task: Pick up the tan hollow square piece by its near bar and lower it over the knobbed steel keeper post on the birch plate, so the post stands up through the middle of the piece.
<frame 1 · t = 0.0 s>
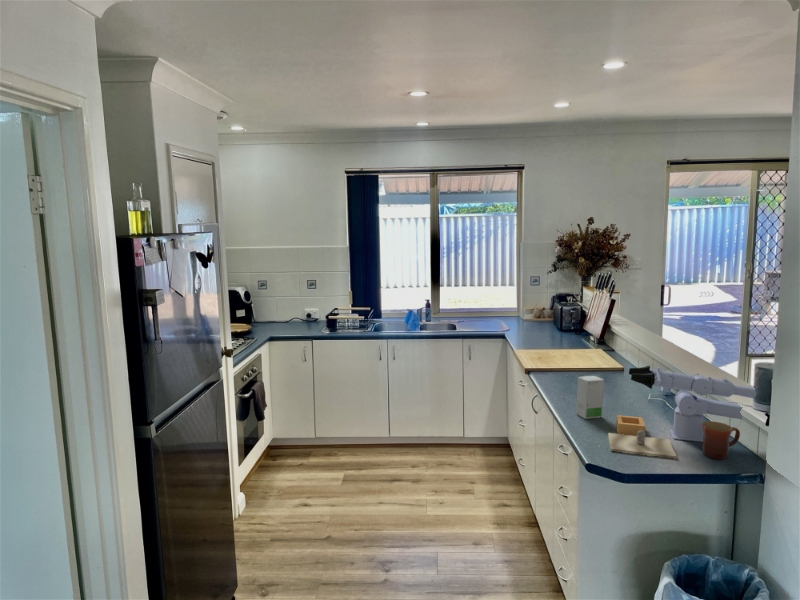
hand: (630, 373, 192), 22 cm above the countertop, tool horizontal, fingers open, 7 cm apart
mug: (719, 456, 174), on the countertop
tan hollow square piece: (629, 430, 195), on the countertop
skincare box: (588, 416, 211), on the countertop
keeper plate: (640, 446, 182), on the countertop
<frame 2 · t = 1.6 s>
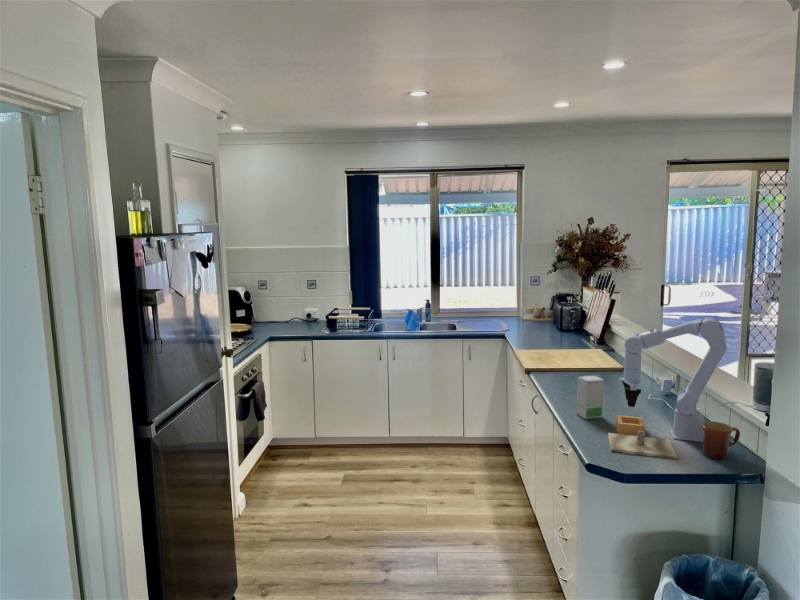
hand: (630, 403, 197), 9 cm above the countertop, tool pointing down, fingers open, 7 cm apart
nothing on the countertop moved.
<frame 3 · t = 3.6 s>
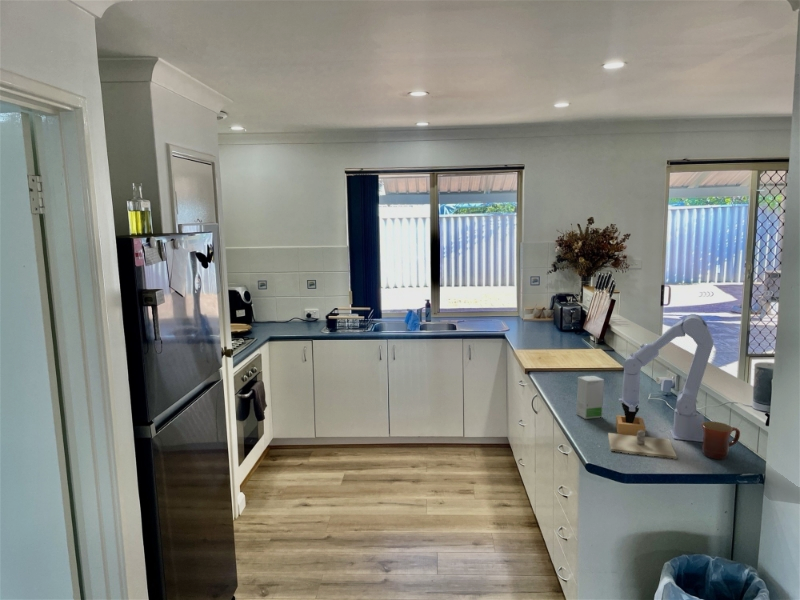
hand: (629, 423, 199), 1 cm above the countertop, tool pointing down, fingers closed on tan hollow square piece
tan hollow square piece: (629, 430, 195), on the countertop, touching gripper
everything else where it was.
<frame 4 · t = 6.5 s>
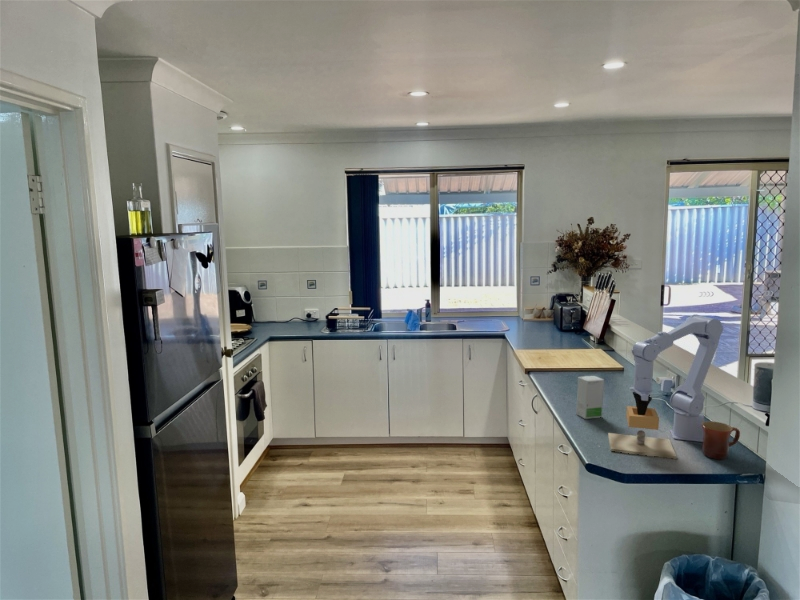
hand: (640, 414, 184), 10 cm above the countertop, tool pointing down, fingers closed on tan hollow square piece
tan hollow square piece: (641, 423, 180), point 9 cm above the countertop, touching gripper
everything else where it was.
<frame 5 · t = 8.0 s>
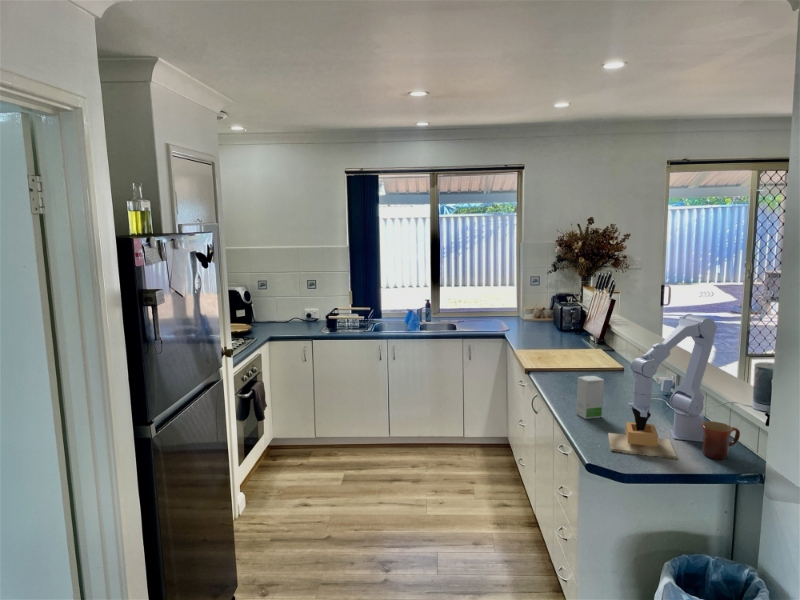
hand: (639, 429, 184), 5 cm above the countertop, tool pointing down, fingers closed on tan hollow square piece
tan hollow square piece: (640, 439, 181), point 3 cm above the countertop, touching gripper
everything else where it was.
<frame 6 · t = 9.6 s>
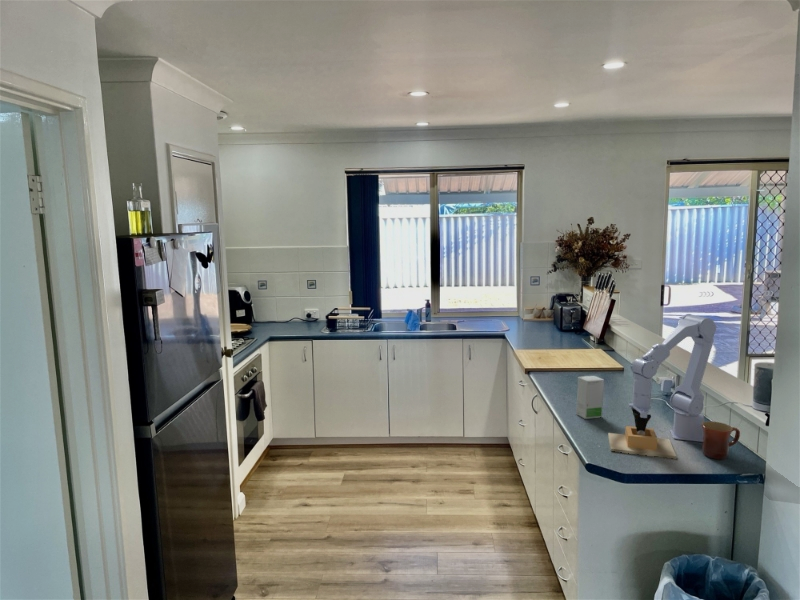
hand: (639, 430, 184), 4 cm above the countertop, tool pointing down, fingers open, 3 cm apart
tan hollow square piece: (640, 443, 182), point 1 cm above the countertop, touching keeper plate
everything else where it was.
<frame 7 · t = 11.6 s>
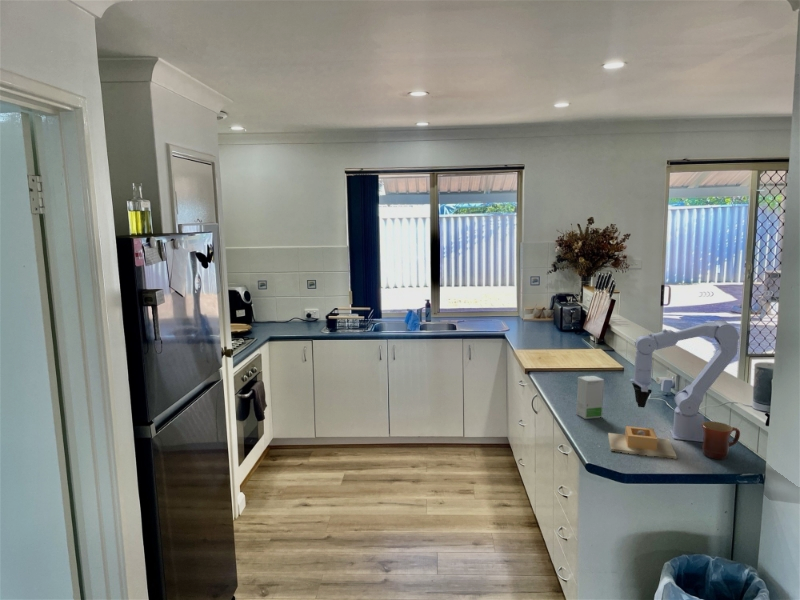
hand: (640, 404, 193), 10 cm above the countertop, tool pointing down, fingers open, 4 cm apart
nothing on the countertop moved.
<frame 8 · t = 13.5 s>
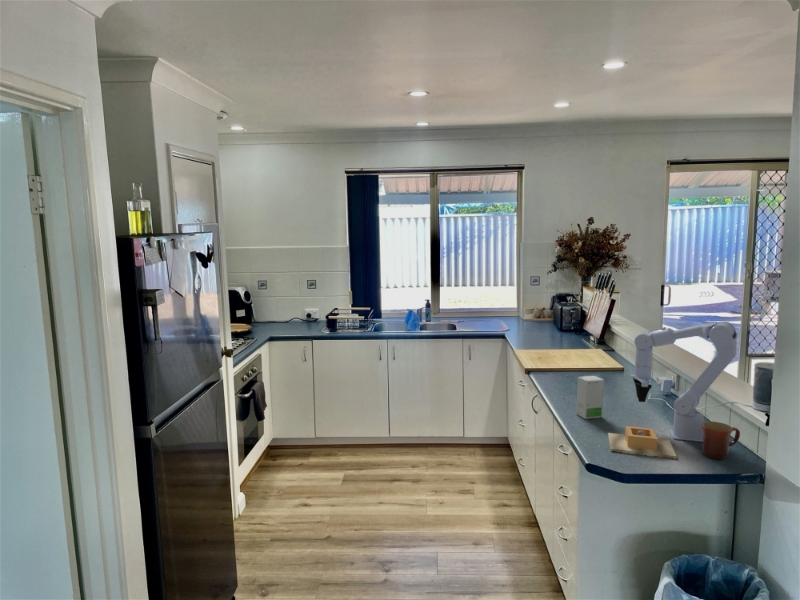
hand: (640, 399, 198), 10 cm above the countertop, tool pointing down, fingers open, 4 cm apart
nothing on the countertop moved.
at the end: tan hollow square piece 0.6 cm off-centre on the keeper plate, point 1.0 cm above the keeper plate's base; the gripper is holding nothing; tan hollow square piece tilted 0° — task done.
